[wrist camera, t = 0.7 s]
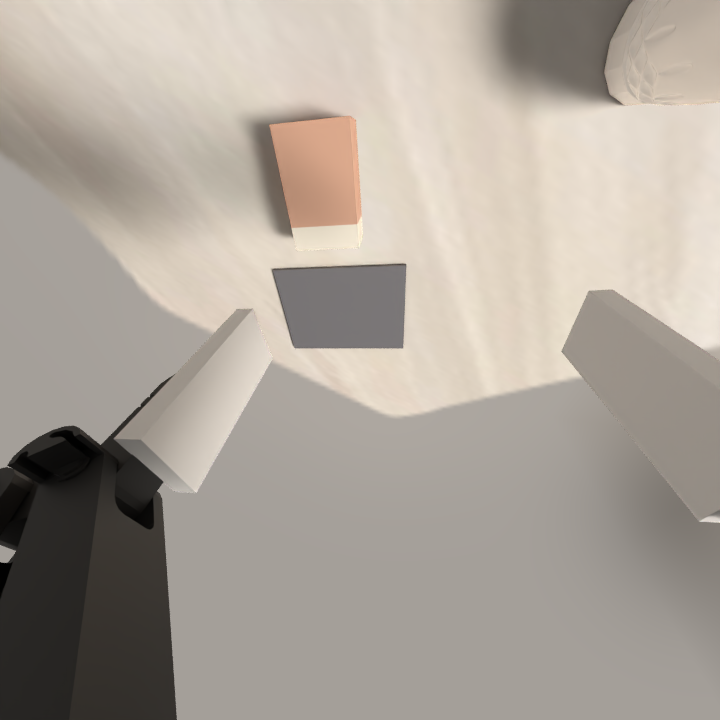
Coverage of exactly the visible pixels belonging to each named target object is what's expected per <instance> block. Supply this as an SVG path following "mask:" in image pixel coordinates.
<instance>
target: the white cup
mask: <svg viewBox="0 0 720 720" xmlns="http://www.w3.org/2000/svg"><path fill="white" fill-rule="evenodd" d="M604 74H605V78H606V82H607V86H608V90H609V94H610V95H611V96H613V97H614V98H615V99H617V100H618V101H619V102H621V103H622V104H624V105H641V104H655V105H658V106H665V105H700V104H709V103H720V0H633V1H632V2H631V3H630V4H629V6H628V7H627V9H626V11H625V13H624V15H623V17H622V19H621V21H620V23H619V25H618V27H617V29H616V31H615V33H614V35H613V37H612V39H611V41H610V45H609V50H608V55H607V60H606V65H605V70H604Z"/></svg>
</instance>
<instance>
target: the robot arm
mask: <svg viewBox="0 0 720 720" xmlns="http://www.w3.org/2000/svg"><path fill="white" fill-rule="evenodd" d="M562 353H563V354H564V355H565V356H566V358H567V359H568V360H569V361H570V363H571V364H572V365H573V366H574V368H575V369H576V370H577V371H578V372H579V374H580V375H581V376H582V377H583V379H584V380H585V381H586V382H587V384H588V385H589V386H590V387H591V389H592V390H593V391H594V392H595V393H596V395H597V396H598V397H599V398H600V400H601V401H602V402H603V403H604V405H605V406H606V407H607V408H608V409H609V411H610V412H611V413H612V414H613V416H614V417H615V418H616V419H617V421H618V422H619V423H620V424H621V425H622V427H623V428H624V429H625V430H626V432H627V433H628V434H629V435H630V437H631V438H632V439H633V440H634V442H635V443H636V444H637V445H638V447H639V448H640V449H641V450H642V452H643V453H644V454H645V455H646V456H647V458H648V459H649V460H650V461H651V463H652V464H653V465H654V466H655V467H656V469H657V470H658V471H659V472H660V474H661V475H662V476H663V477H664V479H665V480H666V481H667V482H668V483H669V485H670V486H671V487H672V488H673V490H674V491H675V492H676V493H677V495H678V496H679V497H680V498H681V500H682V501H683V502H684V503H685V504H686V506H687V507H688V508H689V509H690V511H691V512H692V513H693V514H694V515H695V517H696V518H697V519H698V521H701V522H718V523H720V361H719V360H718V359H716V358H715V357H713V356H712V355H710V354H709V353H707V352H706V351H704V350H703V349H701V348H700V347H698V346H697V345H695V344H694V343H692V342H691V341H689V340H688V339H686V338H685V337H683V336H682V335H680V334H679V333H677V332H676V331H674V330H673V329H671V328H670V327H668V326H667V325H665V324H664V323H662V322H661V321H659V320H658V319H656V318H655V317H653V316H652V315H650V314H649V313H647V312H646V311H644V310H643V309H641V308H640V307H638V306H637V305H635V304H634V303H632V302H630V301H629V300H627V299H626V298H624V297H623V296H621V295H620V294H618V293H617V292H615V291H614V290H597V291H589V292H588V294H587V296H586V298H585V301H584V303H583V305H582V307H581V309H580V312H579V314H578V316H577V318H576V320H575V323H574V325H573V327H572V329H571V331H570V334H569V336H568V338H567V340H566V342H565V345H564V347H563V349H562ZM272 359H273V358H272V355H271V352H270V350H269V347H268V345H267V342H266V340H265V337H264V335H263V332H262V330H261V327H260V325H259V322H258V320H257V317H256V315H255V312H254V310H253V309H237V310H236V311H235V312H234V313H233V314H232V315H231V316H230V317H229V318H228V319H227V320H226V321H225V322H224V323H223V324H222V326H221V327H220V328H219V329H218V330H217V331H216V332H215V333H214V334H213V335H212V336H211V337H210V338H209V339H208V340H207V341H206V342H205V343H204V345H203V346H202V347H201V348H200V349H199V350H198V351H197V352H196V353H195V354H194V355H193V356H192V357H191V358H190V359H189V360H188V361H187V362H186V363H185V364H184V365H183V366H182V368H181V369H180V370H179V371H178V372H177V373H176V374H174V375H173V376H171V377H170V378H168V379H167V380H165V381H164V382H163V383H161V384H160V385H159V386H158V387H157V388H156V389H155V390H154V391H153V392H152V393H151V394H150V397H148V398H146V399H145V401H143V403H142V404H141V407H138V408H137V409H136V410H135V411H134V412H133V413H132V414H131V415H130V416H129V417H128V418H127V419H126V420H125V421H124V422H123V423H122V424H121V425H120V426H119V427H118V428H117V429H116V430H115V431H114V432H113V433H112V434H111V436H109V437H108V438H107V439H106V440H105V441H104V443H102V444H101V445H100V444H98V443H97V442H96V441H94V440H93V439H92V438H91V437H90V436H88V435H87V434H86V433H85V432H84V431H82V430H81V429H80V428H78V427H76V426H65V427H61V428H58V429H55V430H52V431H50V432H48V433H46V434H44V435H42V436H40V437H38V438H36V439H35V440H33V441H32V442H30V443H29V444H27V445H26V446H25V447H24V448H22V449H21V450H20V451H19V452H18V453H17V454H16V455H15V456H14V457H13V458H12V460H11V461H10V462H9V464H8V466H9V467H11V468H8V467H6V468H1V469H0V545H2V546H5V547H7V548H10V549H13V550H16V552H15V554H14V556H13V557H12V558H11V559H10V561H9V562H8V563H1V562H0V720H177V719H176V718H177V716H176V702H175V687H174V673H173V656H172V641H171V627H170V611H169V597H168V581H167V566H166V553H165V538H164V537H165V536H164V521H163V507H162V498H161V495H160V493H158V492H157V490H158V489H159V487H160V486H161V484H162V483H165V484H166V485H167V486H168V487H169V488H170V489H171V490H173V491H174V492H189V493H196V492H197V491H198V489H199V487H200V485H201V483H202V482H203V480H204V478H205V476H206V475H207V473H208V471H209V469H210V468H211V466H212V464H213V462H214V461H215V459H216V457H217V455H218V454H219V452H220V450H221V448H222V447H223V445H224V443H225V441H226V440H227V438H228V436H229V434H230V432H231V431H232V429H233V427H234V426H235V424H236V422H237V420H238V418H239V417H240V415H241V413H242V411H243V410H244V408H245V406H246V404H247V403H248V401H249V399H250V397H251V395H252V394H253V392H254V390H255V388H256V387H257V385H258V383H259V381H260V380H261V378H262V376H263V374H264V372H265V371H266V369H267V367H268V366H269V364H270V362H271V360H272ZM12 468H13V469H12Z"/></svg>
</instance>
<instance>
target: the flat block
mask: <svg viewBox="0 0 720 720" xmlns="http://www.w3.org/2000/svg"><path fill="white" fill-rule="evenodd" d="M269 126H270V131H271V135H272V140H273V145H274V149H275V154H276V158H277V163H278V168H279V172H280V177H281V182H282V186H283V191H284V196H285V200H286V205H287V210H288V214H289V219H290V224H291V228H292V233H293V238H294V242H295V247H296V251H306V250H328V249H350V248H359V247H360V244H361V241H362V238H363V230H362V213H361V197H360V181H359V164H358V148H357V132H356V120H355V119H354V118H352V117H351V116H344V117H335V118H326V119H316V120H307V121H298V122H289V123H279V124H270V125H269Z"/></svg>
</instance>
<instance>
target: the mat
mask: <svg viewBox="0 0 720 720" xmlns="http://www.w3.org/2000/svg"><path fill="white" fill-rule="evenodd" d="M273 273H274V276H275V280H276V283H277V287H278V291H279V294H280V298H281V301H282V305H283V308H284V312H285V316H286V319H287V323H288V326H289V330H290V333H291V337H292V341H293V344H294V348H403V338H404V310H405V282H406V264H399V265H372V266H346V267H320V268H293V269H274V270H273Z"/></svg>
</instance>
